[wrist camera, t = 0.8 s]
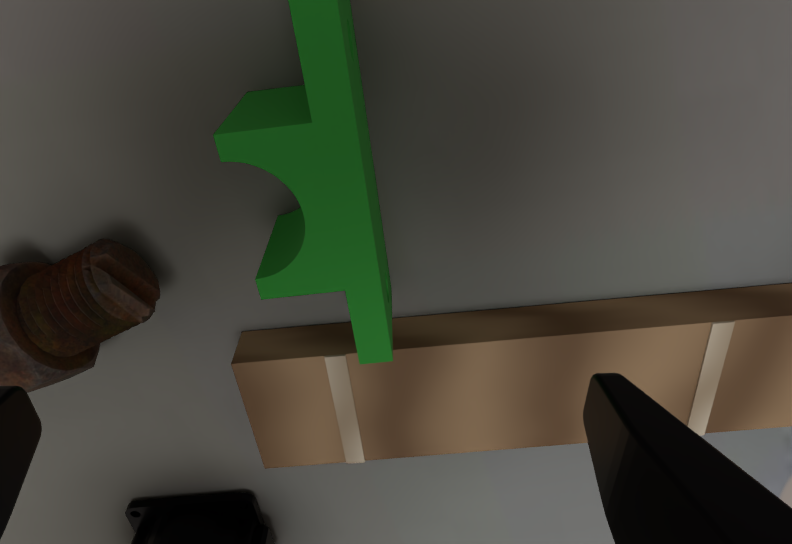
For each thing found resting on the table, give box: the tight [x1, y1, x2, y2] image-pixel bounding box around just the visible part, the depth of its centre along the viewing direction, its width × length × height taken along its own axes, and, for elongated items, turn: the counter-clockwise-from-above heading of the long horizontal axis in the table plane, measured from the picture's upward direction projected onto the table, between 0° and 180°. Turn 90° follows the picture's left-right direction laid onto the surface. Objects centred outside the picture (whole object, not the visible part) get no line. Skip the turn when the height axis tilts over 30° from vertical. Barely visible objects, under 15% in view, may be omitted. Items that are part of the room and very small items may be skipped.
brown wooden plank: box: [231, 283, 792, 468], centre depth 24 cm, size 24×6×2 cm, turn 95°
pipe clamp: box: [213, 0, 393, 364], centre depth 18 cm, size 11×4×5 cm, turn 7°
